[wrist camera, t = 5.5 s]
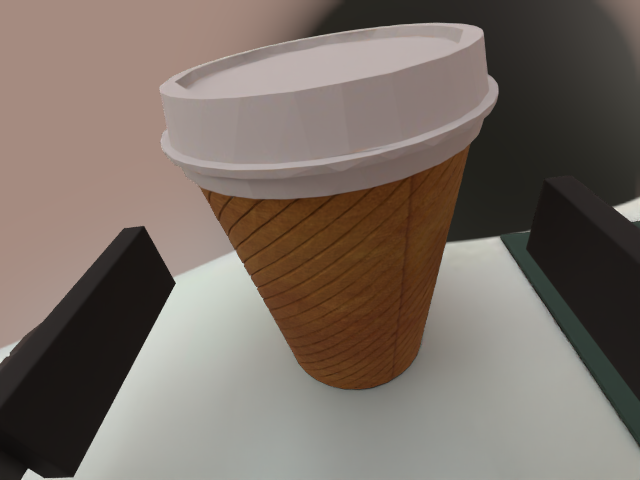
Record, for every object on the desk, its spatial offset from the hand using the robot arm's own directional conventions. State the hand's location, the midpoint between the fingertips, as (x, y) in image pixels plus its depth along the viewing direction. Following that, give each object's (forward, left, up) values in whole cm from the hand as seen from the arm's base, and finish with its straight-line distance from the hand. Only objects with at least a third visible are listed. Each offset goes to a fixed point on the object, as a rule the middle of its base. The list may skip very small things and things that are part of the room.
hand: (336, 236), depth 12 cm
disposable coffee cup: (0, -1, -7) cm, 7 cm away
